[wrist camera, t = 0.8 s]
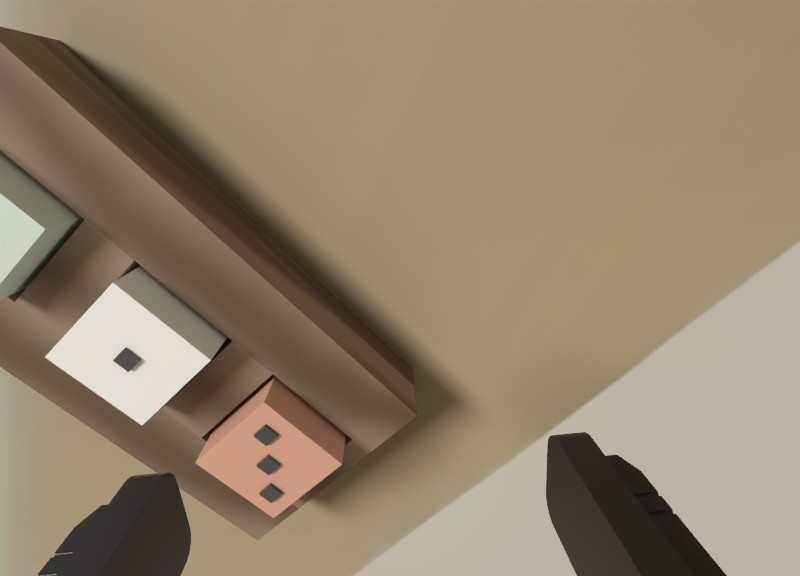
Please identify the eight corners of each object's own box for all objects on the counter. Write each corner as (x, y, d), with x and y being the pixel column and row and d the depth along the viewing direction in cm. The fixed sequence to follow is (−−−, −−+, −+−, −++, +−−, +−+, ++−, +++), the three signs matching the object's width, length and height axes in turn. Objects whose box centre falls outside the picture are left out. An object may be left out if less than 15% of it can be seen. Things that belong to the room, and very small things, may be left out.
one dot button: (150, 259, 24) (110, 284, 20) (233, 328, 25) (209, 362, 22) (89, 325, 25) (41, 359, 21) (172, 387, 26) (140, 428, 23)
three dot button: (279, 366, 26) (262, 404, 23) (347, 423, 28) (341, 466, 24) (217, 421, 27) (193, 465, 24) (286, 472, 29) (272, 521, 25)
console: (60, 40, 23) (-24, 21, 18) (412, 370, 30) (417, 415, 26) (-75, 224, 26) (-176, 247, 21) (275, 481, 34) (257, 540, 29)
